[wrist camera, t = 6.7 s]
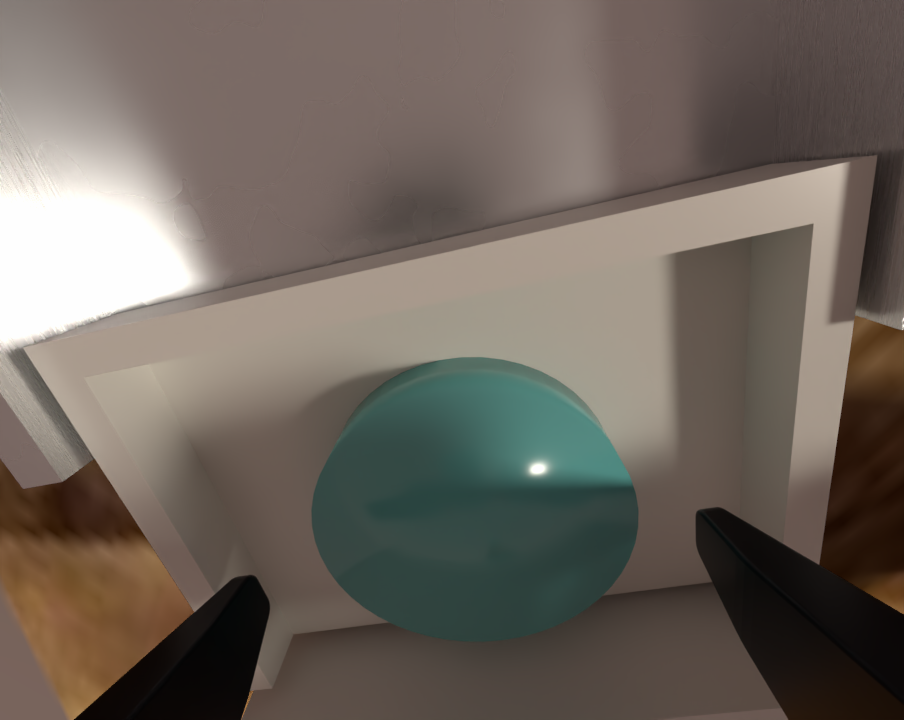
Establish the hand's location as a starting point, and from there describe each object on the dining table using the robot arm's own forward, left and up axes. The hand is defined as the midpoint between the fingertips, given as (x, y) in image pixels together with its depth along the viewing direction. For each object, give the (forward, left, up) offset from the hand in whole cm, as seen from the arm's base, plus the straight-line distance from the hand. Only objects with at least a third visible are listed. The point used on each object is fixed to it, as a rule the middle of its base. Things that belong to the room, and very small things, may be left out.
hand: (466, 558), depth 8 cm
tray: (0, 0, -4) cm, 4 cm away
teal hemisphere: (0, 0, -2) cm, 2 cm away
